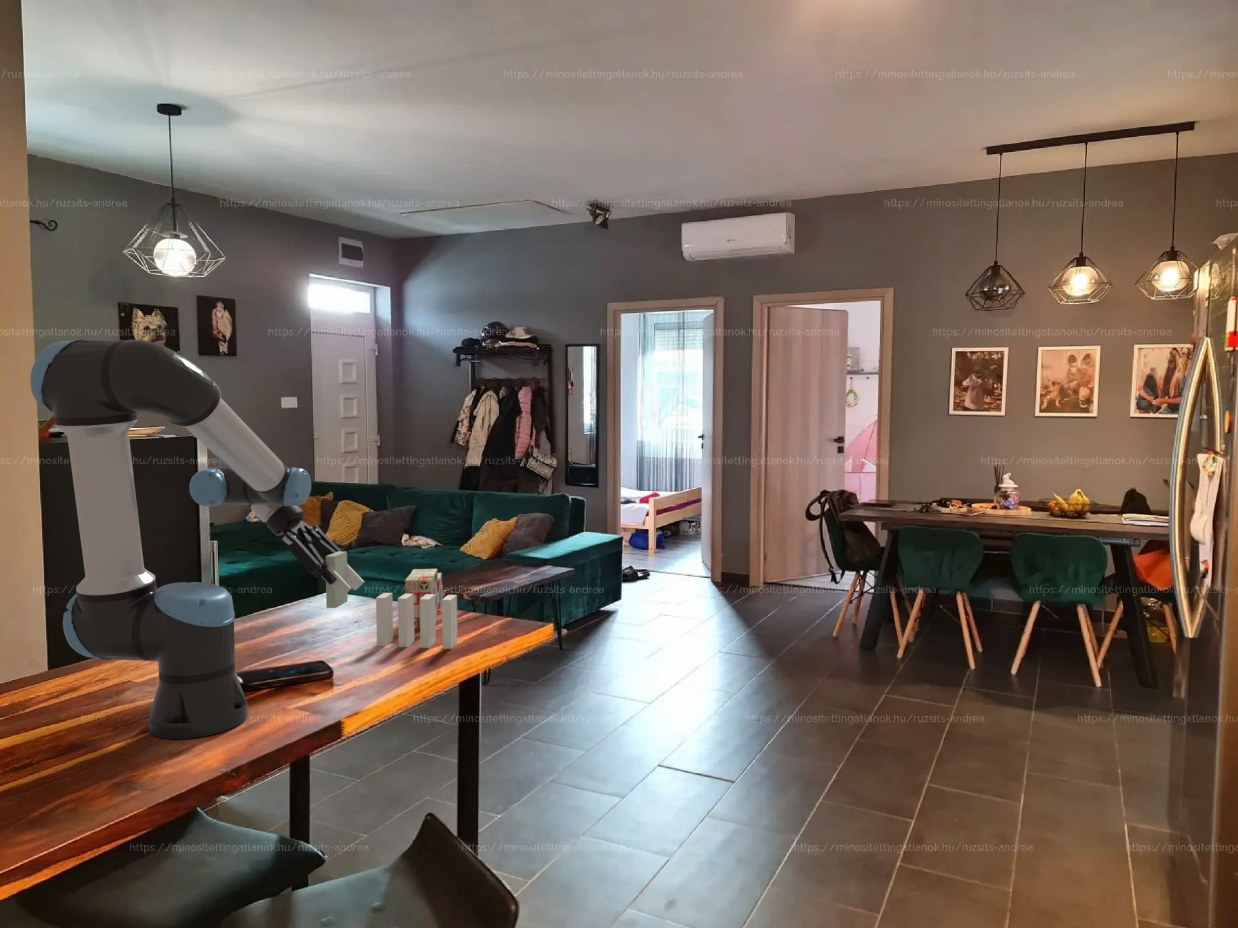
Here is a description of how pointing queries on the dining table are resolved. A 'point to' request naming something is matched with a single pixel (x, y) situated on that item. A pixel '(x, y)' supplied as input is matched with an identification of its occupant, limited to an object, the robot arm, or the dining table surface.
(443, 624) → the domino
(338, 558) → the sage domino
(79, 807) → the dining table surface
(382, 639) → the domino
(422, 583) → the stack of blocks
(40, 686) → the dining table surface
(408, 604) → the domino
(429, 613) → the domino
